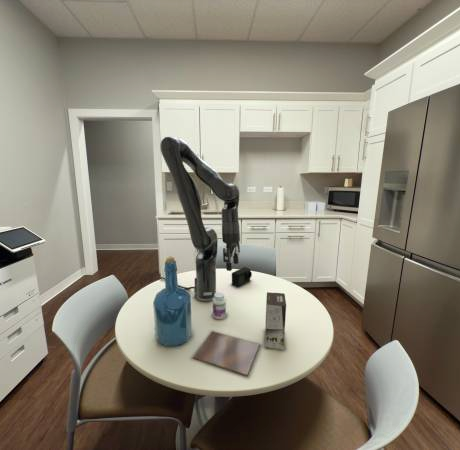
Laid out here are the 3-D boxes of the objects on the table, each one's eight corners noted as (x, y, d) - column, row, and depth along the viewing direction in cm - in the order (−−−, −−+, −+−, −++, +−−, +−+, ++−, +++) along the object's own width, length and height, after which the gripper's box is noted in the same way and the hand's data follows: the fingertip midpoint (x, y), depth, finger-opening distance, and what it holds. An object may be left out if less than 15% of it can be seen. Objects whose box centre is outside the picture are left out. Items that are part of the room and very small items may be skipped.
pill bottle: (212, 312, 105) (212, 291, 103) (225, 311, 106) (224, 290, 104) (213, 319, 100) (212, 298, 98) (226, 319, 101) (226, 297, 98)
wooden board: (193, 358, 80) (193, 356, 80) (212, 332, 92) (212, 331, 92) (247, 376, 73) (247, 374, 73) (259, 345, 85) (259, 344, 85)
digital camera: (239, 288, 126) (239, 275, 125) (231, 285, 130) (231, 272, 129) (251, 281, 134) (252, 269, 132) (244, 278, 137) (244, 266, 136)
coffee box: (284, 350, 83) (286, 306, 80) (264, 347, 84) (266, 304, 81) (283, 332, 92) (285, 292, 88) (265, 330, 93) (266, 291, 90)
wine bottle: (153, 328, 95) (148, 254, 88) (187, 321, 99) (184, 249, 93) (158, 352, 82) (152, 267, 76) (197, 342, 87) (194, 262, 80)
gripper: (228, 227, 114) (230, 261, 117) (216, 234, 101) (218, 272, 105) (244, 227, 111) (245, 262, 114) (233, 235, 98) (235, 273, 102)
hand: (232, 266), depth 109 cm, fingers open, 8 cm apart
